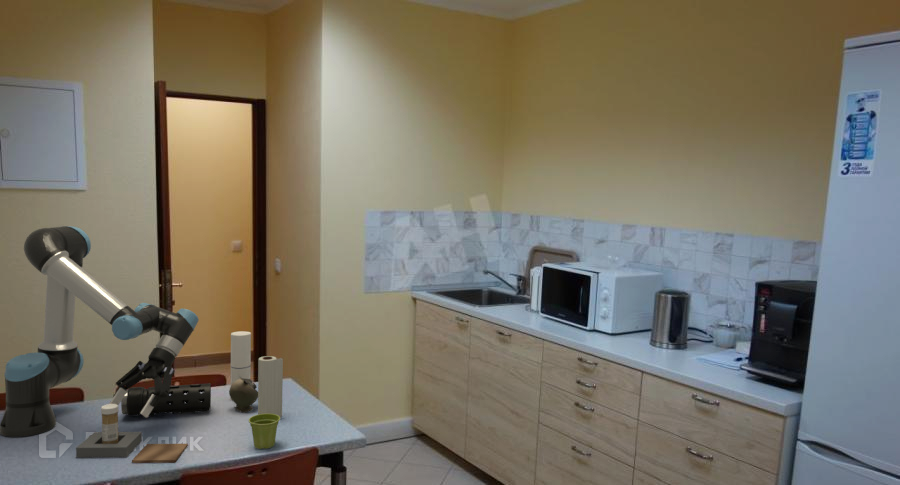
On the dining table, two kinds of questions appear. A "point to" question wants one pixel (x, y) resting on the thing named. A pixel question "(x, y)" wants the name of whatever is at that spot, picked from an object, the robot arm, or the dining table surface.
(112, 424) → the sprinkles bottle
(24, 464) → the dining table surface
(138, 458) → the pad
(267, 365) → the paper towel roll
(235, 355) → the cylindrical container
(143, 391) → the muzzle brake
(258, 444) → the plant pot
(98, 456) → the frame
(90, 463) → the dining table surface
